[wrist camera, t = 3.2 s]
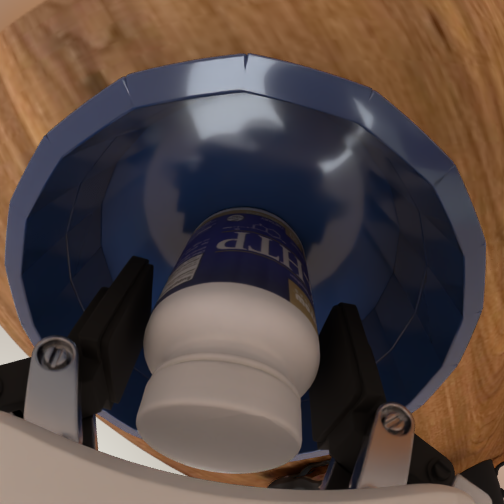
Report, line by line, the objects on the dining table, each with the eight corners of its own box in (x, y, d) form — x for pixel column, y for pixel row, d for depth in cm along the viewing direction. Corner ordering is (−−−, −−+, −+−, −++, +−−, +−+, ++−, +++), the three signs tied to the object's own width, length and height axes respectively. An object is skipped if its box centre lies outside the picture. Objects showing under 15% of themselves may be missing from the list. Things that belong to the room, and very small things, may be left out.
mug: (508, 453, 32) (522, 494, 23) (454, 483, 36) (464, 525, 27) (509, 444, 29) (524, 491, 20) (448, 478, 33) (458, 526, 24)
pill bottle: (328, 247, 13) (379, 432, 6) (260, 322, 16) (251, 491, 8) (224, 179, 12) (150, 340, 4) (168, 270, 15) (93, 435, 7)
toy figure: (384, 423, 22) (255, 476, 27) (403, 484, 17) (259, 526, 21) (408, 435, 25) (295, 483, 30) (425, 484, 20) (301, 526, 24)
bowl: (106, 57, 10) (-2, 51, 4) (454, 145, 11) (555, 194, 5) (99, 331, 18) (56, 411, 12) (337, 382, 19) (350, 470, 13)
